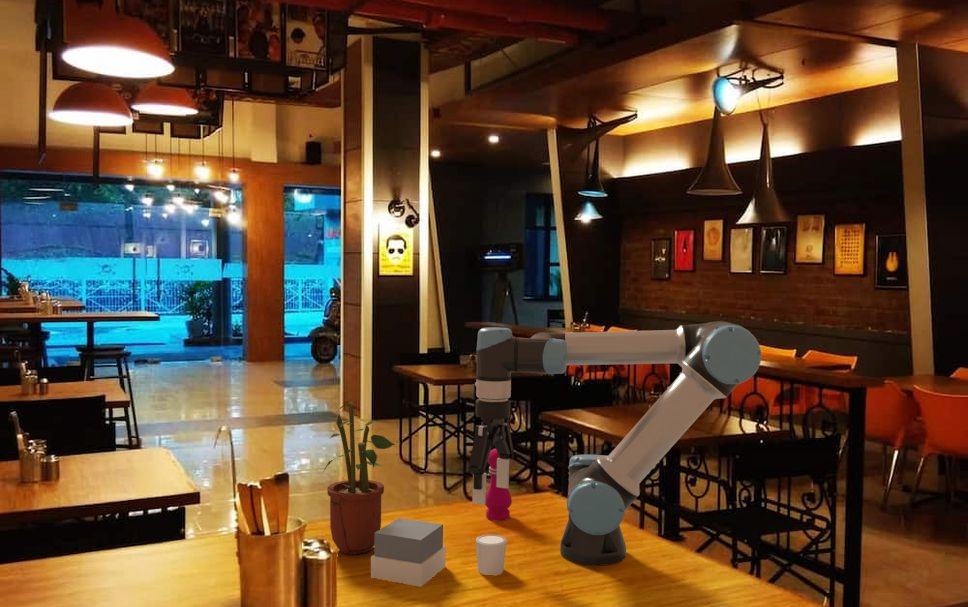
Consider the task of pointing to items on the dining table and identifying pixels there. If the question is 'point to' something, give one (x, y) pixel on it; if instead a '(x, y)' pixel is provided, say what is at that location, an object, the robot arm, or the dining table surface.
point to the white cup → (490, 554)
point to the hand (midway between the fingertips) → (491, 495)
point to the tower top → (408, 540)
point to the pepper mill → (497, 493)
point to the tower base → (408, 569)
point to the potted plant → (356, 493)
